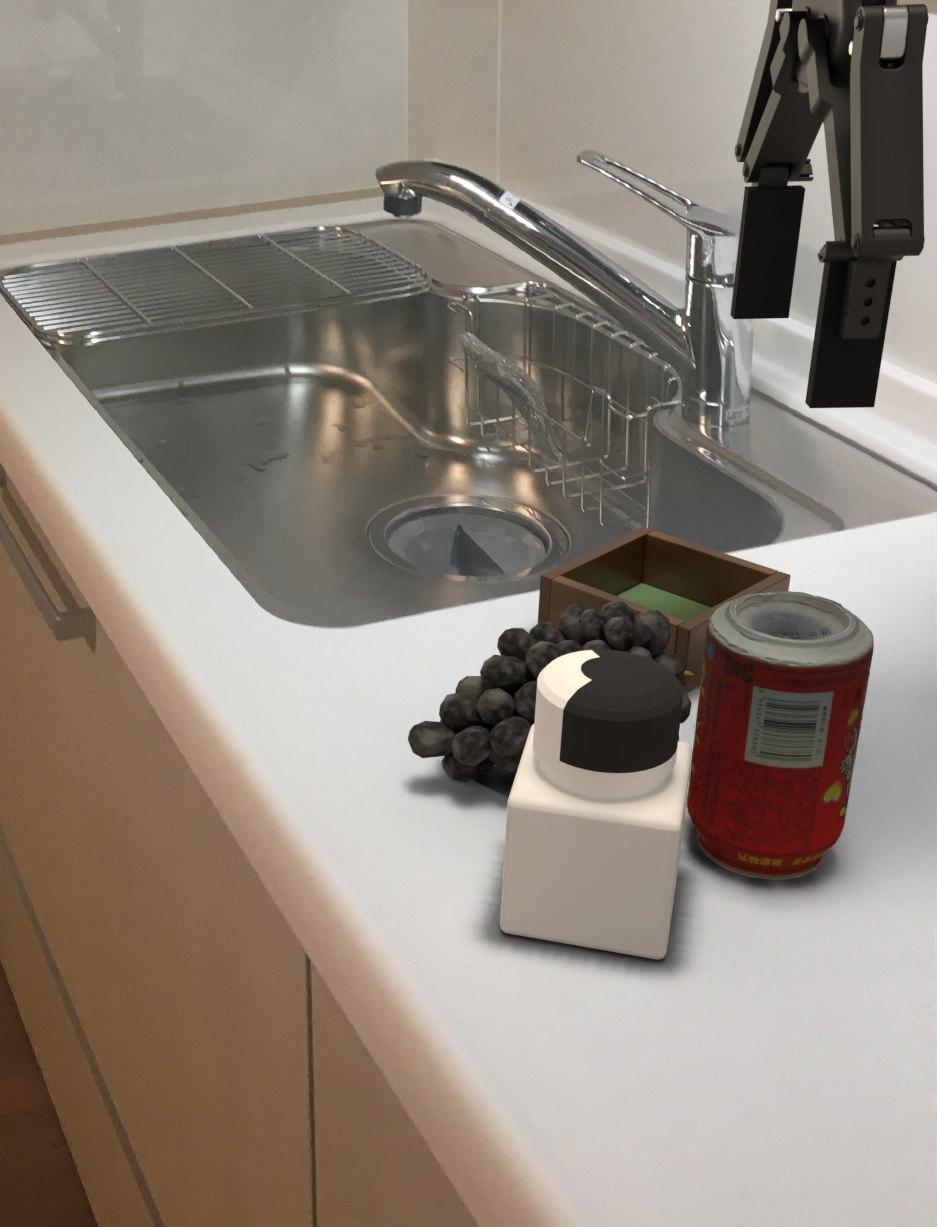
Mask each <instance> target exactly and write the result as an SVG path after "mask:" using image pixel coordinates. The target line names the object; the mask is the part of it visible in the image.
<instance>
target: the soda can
mask: <svg viewBox="0 0 937 1227" xmlns="http://www.w3.org/2000/svg"><path fill="white" fill-rule="evenodd" d="M874 640H875V639H874V635H873V633H872V630H871V629H870V628H869V626H868V625H867V624H866V623H864V621H863V620H862V619H861V618H860V617H859V616H858V615H856V614H854V613H852V612H851V611H850V610H849V609H848V608H846V607H844V606H843V604H841V603H839V602H837V601H835V600H832V599H830V598H826V597H822V596H820V595H814V594H812V593H811V594H810V593H806V592H802V591H801V592H800V591H790V590H789V591H778V592H768V593H754V594H747V595H744V596H742V597H740V598H738V599H735V600H732V601H729V602H727V603H725V604H723V605H722V606H721V607H719V608H718V609H716V610H715V611H714V613H713V614H712V616H711V617H710V618H709V620H708V624H707V628H706V637H705V648H704V656H703V665H702V676H701V683H700V686H699V695H698V701H697V708H696V717H695V718H696V719H695V727H694V737H693V743H692V745H693V746H692V754H691V762H690V771H689V779H688V788H687V797H686V808H687V813H688V816H689V818H690V821H691V823H692V825H693V828H694V830H695V832H696V833H697V844H698V845H699V847H700V849H701V851H702V853H703V854H704V855H705V856H706V857H707V858H709V859H710V860H711V861H712V862H714V863H715V864H717V865H718V866H720V867H722V868H724V869H726V870H728V871H730V872H732V873H735V874H738V875H741V876H744V877H748V878H754V879H755V878H756V879H764V880H770V881H771V880H774V881H775V880H790V879H796V878H800V877H803V876H805V875H807V874H809V873H811V872H812V871H814V870H816V869H817V868H818V867H819V865H820V864H821V862H822V860H823V858H824V855H825V854H826V853H827V852H828V851H829V850H831V849H832V847H834V846H835V845H836V844H837V842H838V841H839V839H840V837H841V836H842V833H843V831H844V828H845V823H846V817H847V811H848V807H849V806H848V805H849V800H850V793H851V788H852V780H853V776H854V768H855V763H856V758H857V751H858V744H859V739H860V733H861V728H862V721H863V717H864V716H863V715H864V709H865V704H866V698H867V692H868V685H869V681H870V680H869V679H870V674H871V666H872V662H873V656H874V649H875V648H874V646H875V641H874Z"/></svg>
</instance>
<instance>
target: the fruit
mask: <svg viewBox="0 0 937 1227" xmlns="http://www.w3.org/2000/svg"><path fill="white" fill-rule="evenodd" d="M559 624H560V627H561V629H562V630H561V629H560V628H559V627H558V626H556V625H554V624H552V623H550V622H545V623H538V622H537V624H536V625H534V626H533V627H532V628H531V629H530V630H529V632H528V631H527V630H526V629H525V628H523V627H511V628H507V629H504V631H503V632H502V633H501V634H500V635H499V636H498V638H497V643H496V644H497V645H496V648H497V650H498V652H499V654H493V655H491V656H490V657H489V658H487V659H485V660H484V661H483V663H482V667H481V668H480V670H479V673H480V675H466V676H465V677H463V678H462V679H460V680H459V681H458V683H457V685H456V687H455V691H454V692H453V693H449V694H446V695H445V697H444V699H443V700H442V701H441V702H440V705H439V710H438V716H439V718H440V720H439V721H434V720H424V721H423V720H422V721H421V722H419V723H417V724H414V725H413V726H412V727H411V729H410V730H409V731H408V736H407V741H408V744H409V747H410V749H411V752H412V753H413V754H414V755H416V756H418V757H419V758H421V759H431V758H439V757H442V759H441V765H442V769H443V771H444V773H445V774H446V776H447V778H449V779H450V780H452V781H454V782H459V783H464V784H466V783H468V782H470V781H471V780H473V779H474V778H475V777H476V776H477V775H480V776H481V775H482V776H485V775H487V774H488V773H490V772H491V771H492V770H493V769H494V767H495V768H496V769H498V770H501V771H506V772H512V773H513V772H514V773H515V774H516V773H517V770H518V766H519V763H520V760H521V757H522V754H523V751H524V747H525V744H526V741H527V738H528V735H529V731H530V728H531V726H532V725H533V724H534V722H535V707H536V693H537V679H538V676H539V674H540V672H541V671H542V670H543V669H544V668H545V667H546V666H547V665H548V664H549V663H551V662H552V661H553V660H555V659H556V658H558V657H561V656H563V655H566V654H569V653H573V652H578V651H585V650H618V651H624V652H629V653H633V654H637V655H641V656H644V657H647V658H649V659H652V660H654V661H656V662H658V663H660V664H662V665H663V666H665V667H666V668H668V669H669V670H670V671H671V672H672V673H673V674H674V675H675V677H676V678H677V679H678V680H679V682H682V681H683V678H684V677H691V678H696V677H695V675H694V674H693V673H691V672H690V671H685V665H684V662H683V661H682V660H681V659H680V658H679V656H677V655H675V654H674V653H670V652H663V651H664V650H665V649H666V647H667V644H668V641H669V638H670V622H669V618H667V617H666V616H665V615H663V614H662V613H661V612H660V611H658V610H648V609H646V610H645V611H643V612H642V613H640V614H639V615H638V616H637V617H636V618H635V615H634V612H633V609H632V608H631V607H629V606H628V605H627V604H626V603H625V602H618V601H614V602H610V603H608V604H605V605H604V606H603V607H602V609H601V610H599V609H598V608H597V609H590V608H588V607H587V606H585V605H583V604H577V605H570V606H569V607H567V608H566V609H565V610H563V611H562V613H561V616H560V618H559ZM692 704H693V702H692V701H691V699H690V697H689V695H688V693H684V692H683V702H682V711H681V720H680V724H683V723H685V722H686V721H687V719H688V718H689V717H690V715H691V709H692ZM678 741H679V742H680V737H679V738H678Z"/></svg>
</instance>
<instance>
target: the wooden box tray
mask: <svg viewBox="0 0 937 1227" xmlns="http://www.w3.org/2000/svg"><path fill="white" fill-rule="evenodd" d="M790 584H791V574H789V573H787V572H783V571H780V570H777V569H774V568H772V567H768V566H764V565H762V564H759V563H756V562H752V561H749V560H747V559H743V558H740V557H738V556H734V555H731V554H728V553H725V552H723V551H719V550H715V549H712V548H710V547H706V546H703V545H700V544H697V543H694V542H691V541H688V540H684V539H682V538H680V537H676V536H673V535H670V534H666V533H663V532H661V531H657V530H654V529H652V528H649V527H645V526H642V527H640V528H637V529H635V530H634V531H633V530H632V531H631V532H629V533H627V534H625V535H623V536H620V537H619V538H616V539H615V540H612V541H610V542H608V543H606V544H604V545H601V546H599V547H598V548H595V549H593V550H592V551H591V550H590V551H588V552H587V553H585V554H583V555H581V556H578V557H577V558H574V559H573V560H571V561H570V560H569V561H567V562H566V563H564V564H562V565H560V566H557V567H555V568H554V569H551V570H549V571H547V572H545V573H542V574H541V575H540V581H539V597H538V611H537V624H538V623H545V622H550V623H552V624H554V625H556V626H558V627H559V628H560V629H561V627H560V624H559V618H560V616H561V613H562V611H563V610H565V609H566V608H567V607H569V606H570V605H577V604H583V605H585V606H587V607H588V608H590V609H597V608H598V609H599V610H601V609H602V607H603V606H604V605H605V604H608V603H610V602H614V601H618V602H625V603H626V604H627V605H628V606H629V607H631V608H632V609H633V612H634V615H635V618H636V617H637V616H638V615H639V614H640V613H642V612H643V611H645V610H646V609H648V610H658V611H660V612H661V613H662V614H663V615H665V616H666V617H667V618H669V622H670V638H669V641H668V644H667V647H666V649H665V650H664V651H663V652H670V653H674V654H675V655H677V656H679V658H680V659H681V660H682V661H683V662H684V665H685V671H690V672H691V673H693V674H694V675H695V677H696V678H691V677H684V678H683V681H682V682H680V683H681V685H682V687H683V692H684V693H686V694H688V693H689V692H691V691H694V690H695V689H697V688H698V687H700V683H701V676H702V665H703V656H704V648H705V637H706V628H707V624H708V620H709V618H710V617H711V616H712V614H713V613H714V611H715V610H716V609H718V608H719V607H721V606H722V605H723V604H725V603H727V602H729V601H732V600H735V599H738V598H740V597H742V596H744V595H747V594H754V593H768V592H778V591H790ZM561 630H562V629H561Z"/></svg>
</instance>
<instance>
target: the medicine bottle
mask: <svg viewBox="0 0 937 1227" xmlns="http://www.w3.org/2000/svg"><path fill="white" fill-rule="evenodd" d="M682 702H683V687H682V685H681V683H680V682H679V680H678V679H677V678H676V677H675V675H674V674H673V673H672V672H671V671H670V670H669V669H668V668H666V667H665V666H663V665H662V664H660V663H658V662H656V661H654V660H652V659H649V658H647V657H644V656H641V655H637V654H633V653H629V652H624V651H618V650H585V651H578V652H573V653H569V654H566V655H563V656H561V657H558V658H556V659H555V660H553V661H552V662H551V663H549V664H548V665H547V666H546V667H545V668H544V669H543V670H542V671H541V672H540V674H539V676H538V679H537V693H536V707H535V722H534V724H533V725H532V726H531V728H530V731H529V735H528V738H527V741H526V744H525V747H524V751H523V754H522V757H521V760H520V763H519V766H518V770H517V773H515V777H514V779H513V783H512V785H511V790H510V792H509V796H508V797H507V798H508V799H507V804H506V817H505V818H506V819H505V822H506V823H505V836H504V852H503V869H502V884H501V885H502V886H501V898H500V900H501V901H500V902H501V903H500V915H499V916H500V917H499V926H500V929H501V931H503V933H505V934H509V935H514V936H521V937H525V938H530V939H531V938H532V939H538V940H543V941H549V942H554V943H559V944H560V943H561V944H566V945H571V946H576V947H577V946H578V947H583V948H588V949H594V950H599V951H604V952H606V951H607V952H612V953H617V954H623V955H629V956H633V957H634V956H635V957H640V958H645V959H652V960H658V961H659V960H661V959H664V958H665V956H666V954H667V951H668V944H669V937H670V930H671V924H672V923H671V922H672V917H673V916H672V915H673V907H674V901H675V894H676V886H677V879H678V872H679V866H680V865H679V864H680V855H681V847H682V839H683V830H684V821H685V812H686V806H687V795H688V788H689V777H690V770H691V760H692V751H693V749H692V748H691V747H692V746H691V745H690V744H689V743H688V742H685V741H680V740H679V741H678V738H679V739H680V728H681V723H680V720H681V711H682Z"/></svg>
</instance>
